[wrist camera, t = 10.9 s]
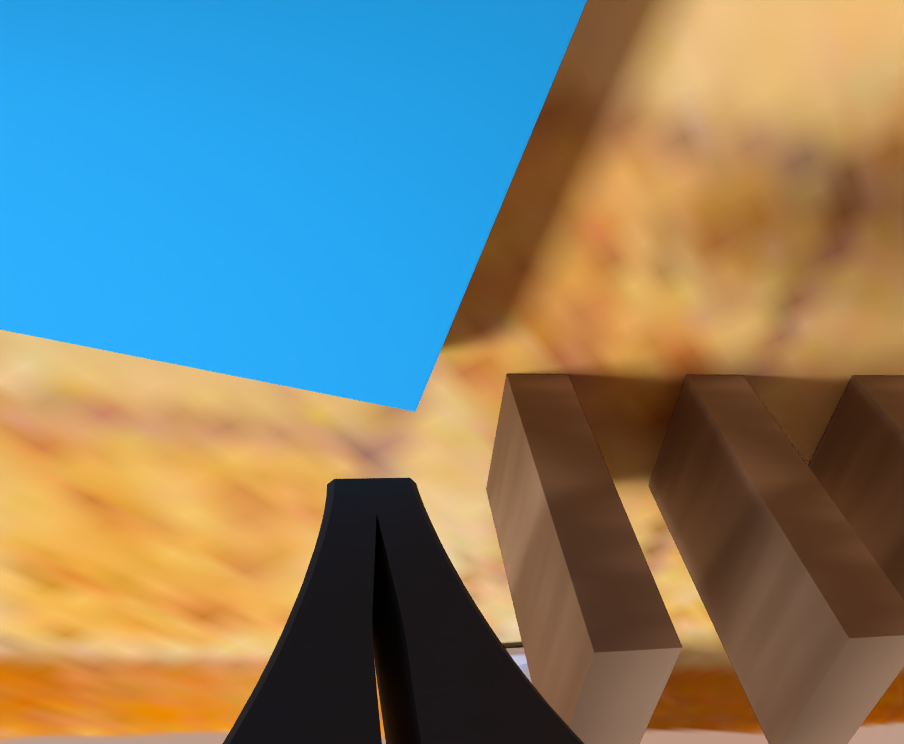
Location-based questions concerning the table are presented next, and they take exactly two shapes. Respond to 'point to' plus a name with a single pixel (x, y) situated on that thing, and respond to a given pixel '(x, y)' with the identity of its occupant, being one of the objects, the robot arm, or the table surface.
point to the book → (263, 176)
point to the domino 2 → (776, 566)
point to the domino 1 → (576, 567)
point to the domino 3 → (868, 467)
